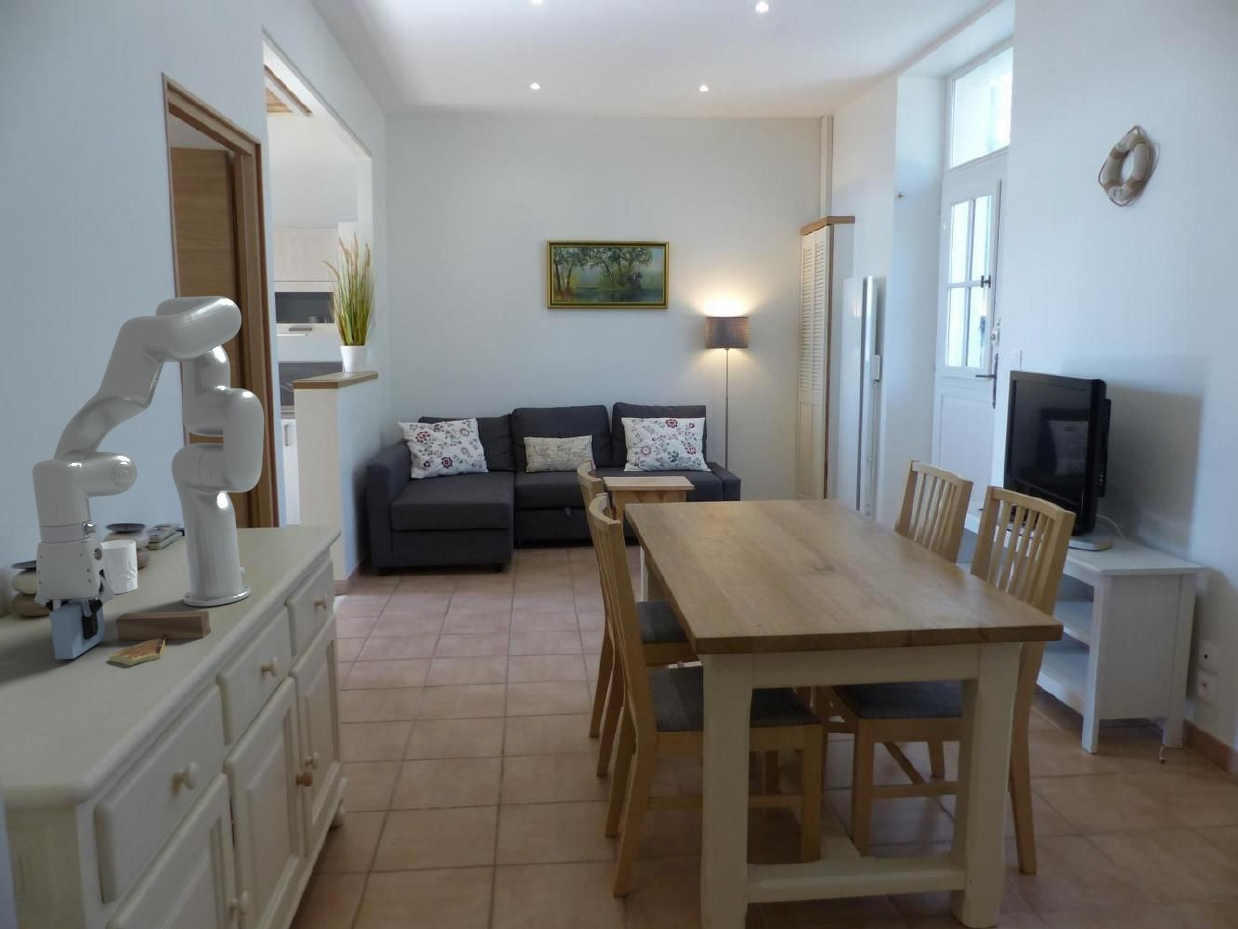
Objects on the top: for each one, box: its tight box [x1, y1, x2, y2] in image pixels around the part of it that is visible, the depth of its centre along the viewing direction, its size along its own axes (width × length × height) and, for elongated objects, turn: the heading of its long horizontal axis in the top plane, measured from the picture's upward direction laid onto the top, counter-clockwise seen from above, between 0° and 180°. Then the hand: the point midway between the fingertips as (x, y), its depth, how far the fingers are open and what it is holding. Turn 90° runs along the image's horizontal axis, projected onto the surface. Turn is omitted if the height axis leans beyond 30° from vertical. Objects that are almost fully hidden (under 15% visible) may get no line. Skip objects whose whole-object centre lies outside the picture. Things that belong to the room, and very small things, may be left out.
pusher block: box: [49, 593, 107, 660], centre depth 156 cm, size 3×10×8 cm, turn 1°
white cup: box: [101, 539, 139, 595], centre depth 193 cm, size 8×8×10 cm
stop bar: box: [115, 610, 212, 642], centre depth 163 cm, size 3×15×4 cm, turn 91°
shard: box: [109, 634, 166, 666], centre depth 155 cm, size 11×8×2 cm
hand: (80, 636), depth 156 cm, fingers closed on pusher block, 3 cm apart
